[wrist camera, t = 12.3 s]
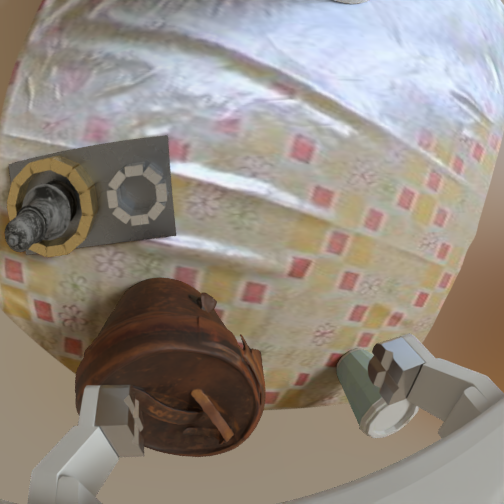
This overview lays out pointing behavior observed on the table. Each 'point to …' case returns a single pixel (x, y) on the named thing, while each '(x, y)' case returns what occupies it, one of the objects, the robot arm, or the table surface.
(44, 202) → the stone chess piece
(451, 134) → the table surface
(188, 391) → the case
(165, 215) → the socket plate
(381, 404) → the disposable coffee cup
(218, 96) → the table surface
